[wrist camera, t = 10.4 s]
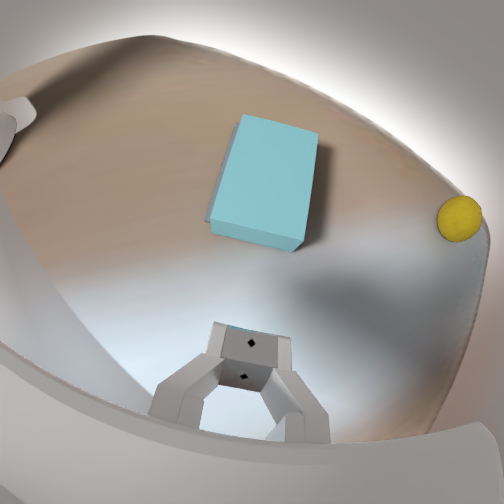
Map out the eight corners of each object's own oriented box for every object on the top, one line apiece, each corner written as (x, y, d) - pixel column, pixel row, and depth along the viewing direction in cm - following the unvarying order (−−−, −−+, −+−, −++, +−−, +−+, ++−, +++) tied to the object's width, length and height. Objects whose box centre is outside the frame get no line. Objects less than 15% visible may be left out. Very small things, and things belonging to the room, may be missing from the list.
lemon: (430, 248, 29) (473, 229, 21) (422, 207, 30) (461, 182, 23) (455, 249, 30) (495, 232, 22) (448, 211, 31) (485, 190, 23)
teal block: (303, 240, 23) (318, 133, 26) (210, 218, 22) (243, 114, 25) (292, 252, 26) (307, 154, 30) (211, 233, 26) (240, 136, 29)
